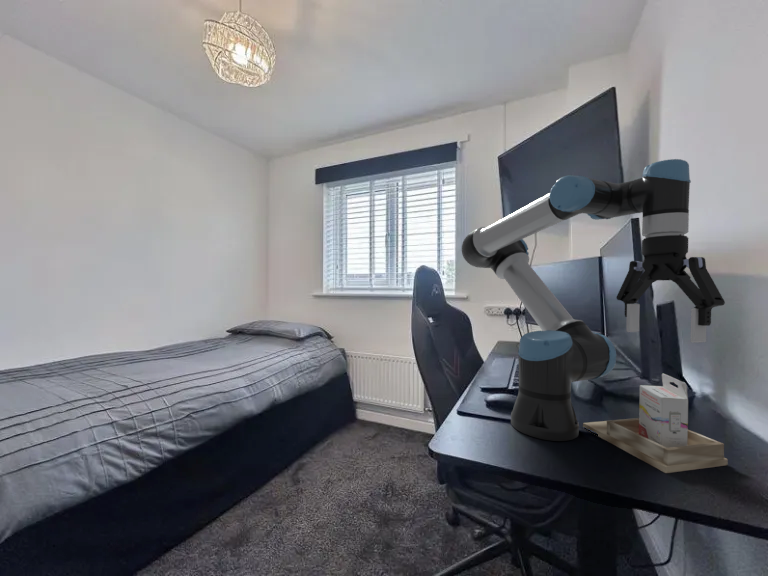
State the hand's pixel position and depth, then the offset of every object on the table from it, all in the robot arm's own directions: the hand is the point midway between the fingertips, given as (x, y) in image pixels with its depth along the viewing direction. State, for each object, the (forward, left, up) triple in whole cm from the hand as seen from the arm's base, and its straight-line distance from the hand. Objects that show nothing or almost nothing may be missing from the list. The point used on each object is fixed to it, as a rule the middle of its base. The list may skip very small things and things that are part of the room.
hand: (662, 336), depth 71 cm
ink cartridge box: (0, 0, -24) cm, 24 cm away
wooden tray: (-3, 0, -25) cm, 25 cm away
